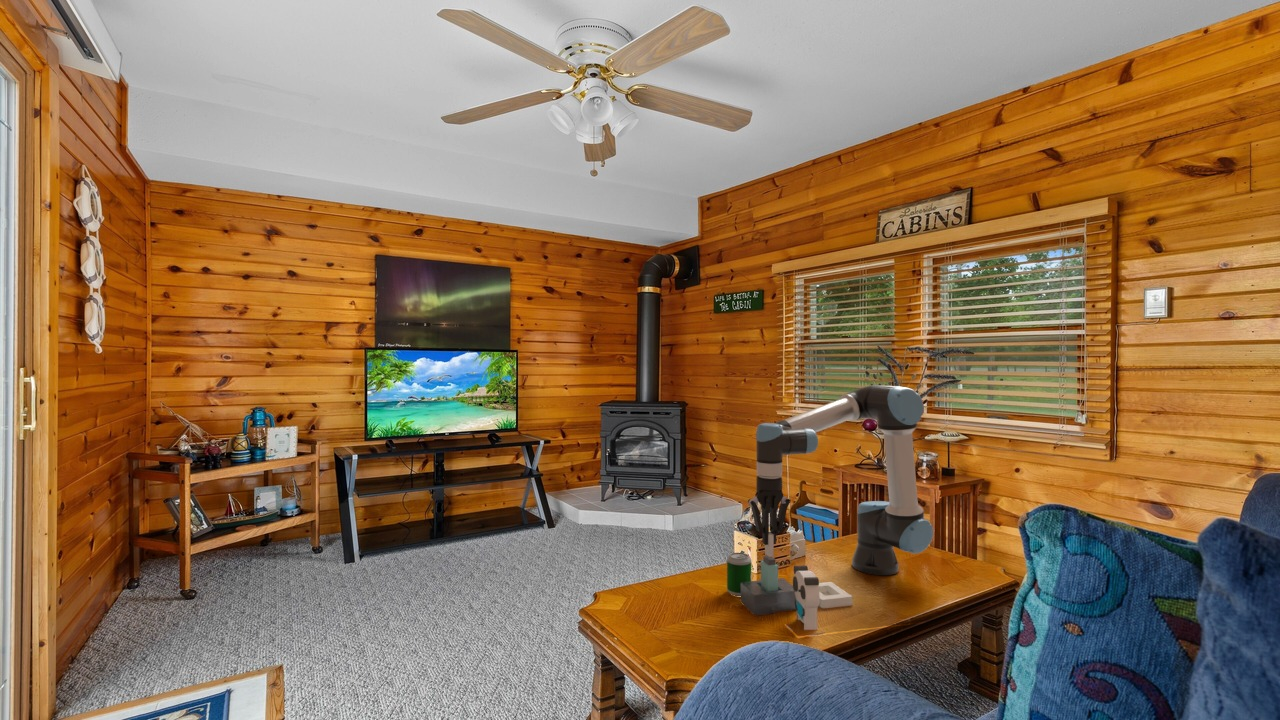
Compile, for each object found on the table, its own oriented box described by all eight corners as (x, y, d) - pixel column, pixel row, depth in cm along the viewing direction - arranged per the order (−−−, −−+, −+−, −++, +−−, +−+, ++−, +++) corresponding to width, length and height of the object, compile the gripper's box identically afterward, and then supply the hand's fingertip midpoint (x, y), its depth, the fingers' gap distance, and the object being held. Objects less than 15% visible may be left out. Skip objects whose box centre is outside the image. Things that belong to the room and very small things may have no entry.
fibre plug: (770, 595, 185) (770, 554, 184) (778, 602, 180) (778, 559, 180) (760, 596, 184) (760, 555, 184) (768, 603, 179) (768, 560, 179)
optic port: (783, 597, 188) (783, 578, 188) (798, 610, 179) (798, 590, 178) (740, 601, 185) (740, 582, 185) (754, 615, 175) (754, 595, 175)
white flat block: (831, 591, 193) (831, 581, 193) (852, 606, 181) (852, 596, 181) (802, 594, 191) (802, 584, 191) (822, 610, 179) (822, 599, 179)
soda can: (751, 599, 187) (751, 560, 187) (726, 597, 188) (726, 558, 188) (751, 590, 194) (751, 552, 194) (727, 588, 196) (727, 551, 196)
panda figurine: (780, 616, 175) (780, 564, 175) (819, 615, 176) (819, 563, 175) (792, 635, 163) (792, 580, 163) (834, 634, 164) (834, 579, 163)
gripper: (783, 472, 186) (783, 549, 187) (743, 474, 183) (743, 552, 184) (795, 477, 179) (795, 557, 179) (754, 479, 176) (754, 560, 176)
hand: (769, 554), depth 182 cm, fingers closed
